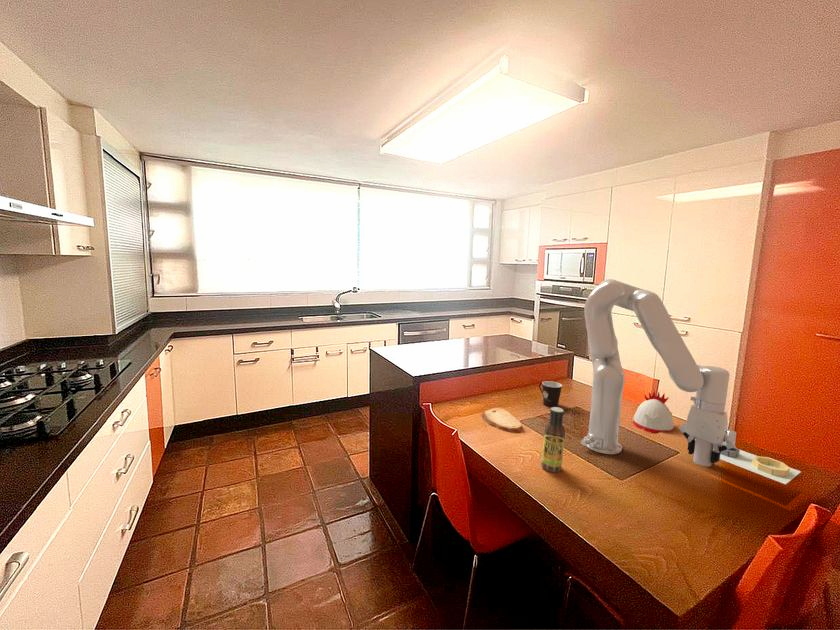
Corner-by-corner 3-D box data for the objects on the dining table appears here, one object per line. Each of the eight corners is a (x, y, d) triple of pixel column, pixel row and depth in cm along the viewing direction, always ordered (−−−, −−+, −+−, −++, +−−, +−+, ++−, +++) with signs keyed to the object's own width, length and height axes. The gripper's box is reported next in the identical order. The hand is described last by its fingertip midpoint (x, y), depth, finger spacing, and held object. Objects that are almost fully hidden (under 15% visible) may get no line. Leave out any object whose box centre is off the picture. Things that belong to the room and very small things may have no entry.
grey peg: (731, 456, 123) (734, 434, 122) (720, 452, 125) (723, 430, 124) (734, 454, 124) (738, 432, 123) (724, 450, 127) (727, 428, 126)
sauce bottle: (540, 470, 114) (544, 410, 111) (541, 460, 120) (545, 403, 117) (562, 475, 112) (567, 414, 109) (562, 465, 118) (566, 407, 115)
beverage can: (711, 471, 115) (716, 436, 114) (693, 466, 118) (697, 432, 116) (709, 464, 119) (714, 430, 118) (691, 460, 122) (696, 426, 120)
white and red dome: (672, 437, 138) (676, 400, 136) (630, 427, 146) (634, 392, 144) (673, 425, 149) (678, 390, 147) (635, 416, 157) (638, 383, 155)
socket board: (784, 488, 107) (786, 478, 107) (698, 454, 126) (700, 445, 126) (800, 475, 114) (802, 465, 114) (717, 444, 133) (718, 436, 133)
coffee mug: (563, 408, 165) (564, 387, 163) (544, 408, 165) (545, 387, 163) (554, 399, 176) (555, 379, 175) (536, 398, 176) (537, 379, 175)
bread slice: (523, 435, 139) (523, 426, 138) (476, 427, 145) (477, 418, 144) (526, 417, 156) (526, 408, 155) (484, 410, 162) (484, 402, 161)
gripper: (674, 398, 121) (668, 448, 124) (738, 417, 107) (730, 474, 109) (685, 394, 125) (679, 443, 128) (748, 412, 110) (740, 467, 113)
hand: (702, 457), depth 118 cm, fingers open, 5 cm apart
